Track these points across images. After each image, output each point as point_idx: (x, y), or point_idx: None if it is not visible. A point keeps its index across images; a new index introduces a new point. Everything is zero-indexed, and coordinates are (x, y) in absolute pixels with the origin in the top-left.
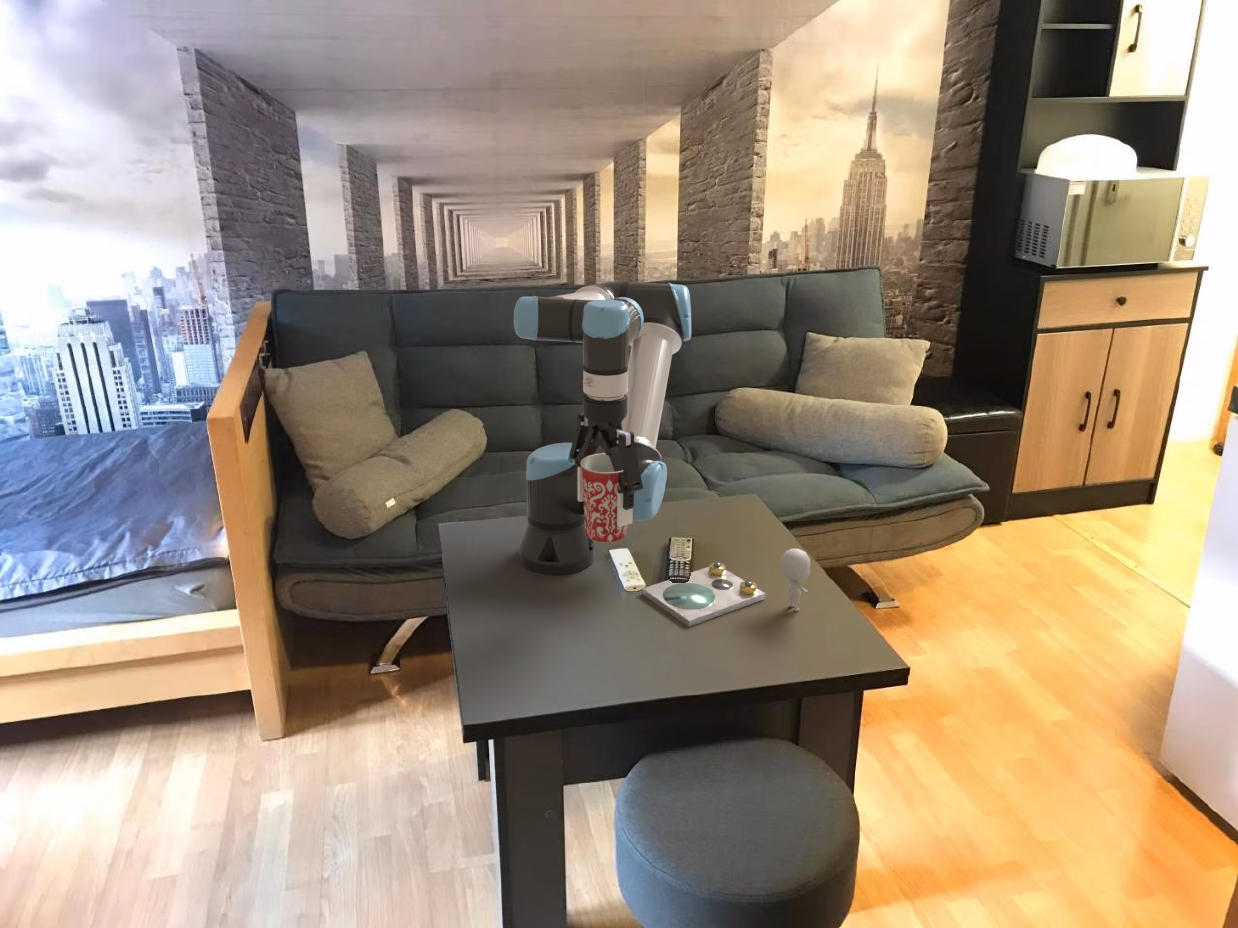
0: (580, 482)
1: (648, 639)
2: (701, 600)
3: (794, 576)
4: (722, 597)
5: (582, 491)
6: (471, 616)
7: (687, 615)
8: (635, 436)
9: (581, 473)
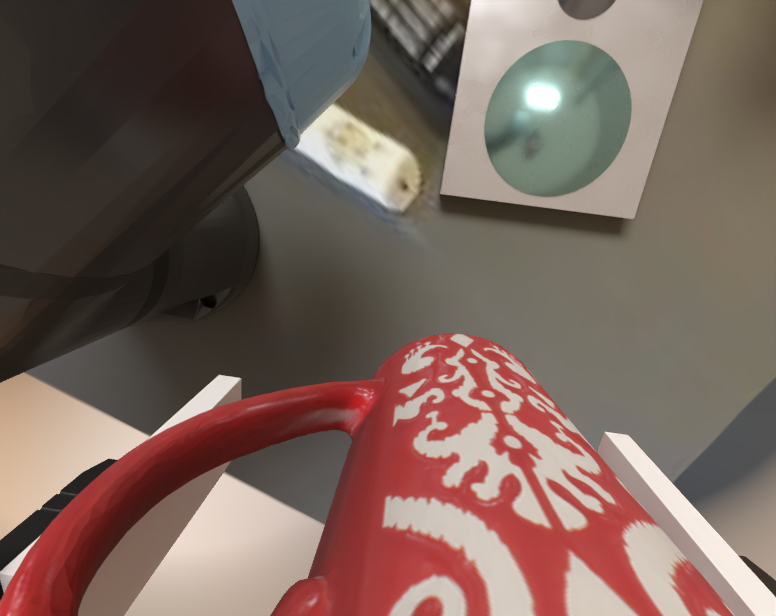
0: (171, 543)
1: (584, 321)
2: (599, 115)
3: None
4: (635, 47)
5: (212, 475)
6: (290, 489)
7: (614, 203)
8: None
9: (116, 612)
